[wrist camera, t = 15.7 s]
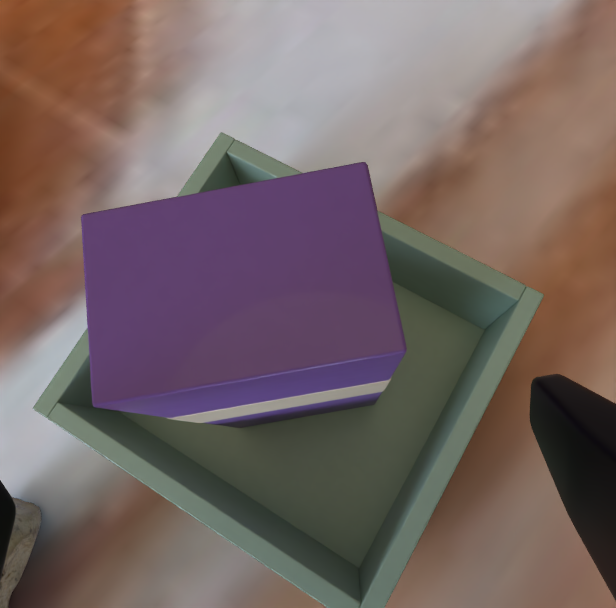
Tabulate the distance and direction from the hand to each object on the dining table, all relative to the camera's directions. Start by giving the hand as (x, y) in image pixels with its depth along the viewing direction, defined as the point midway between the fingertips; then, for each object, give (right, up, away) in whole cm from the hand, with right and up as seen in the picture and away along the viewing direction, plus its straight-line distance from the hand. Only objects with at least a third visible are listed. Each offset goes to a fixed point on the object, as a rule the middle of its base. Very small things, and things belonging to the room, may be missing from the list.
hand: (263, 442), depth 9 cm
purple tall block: (0, 0, +12) cm, 12 cm away
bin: (0, 0, +13) cm, 13 cm away
